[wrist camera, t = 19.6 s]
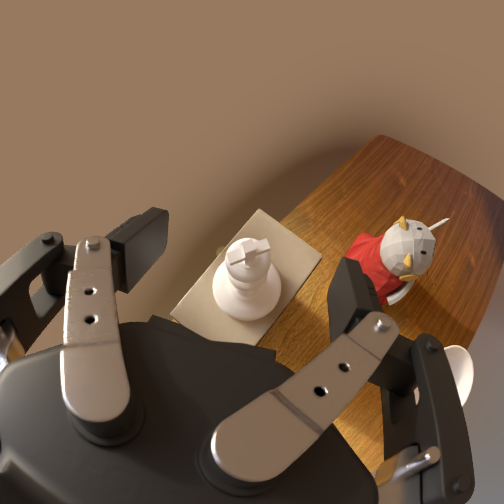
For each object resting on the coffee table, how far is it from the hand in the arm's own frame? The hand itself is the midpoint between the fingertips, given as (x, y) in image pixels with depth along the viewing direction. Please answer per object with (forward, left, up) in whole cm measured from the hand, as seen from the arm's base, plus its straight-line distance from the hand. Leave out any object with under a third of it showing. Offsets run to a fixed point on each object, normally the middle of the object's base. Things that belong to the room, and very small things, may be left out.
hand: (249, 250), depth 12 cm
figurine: (+21, +2, -28) cm, 35 cm away
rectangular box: (0, 0, -28) cm, 28 cm away
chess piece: (0, 0, -8) cm, 8 cm away
